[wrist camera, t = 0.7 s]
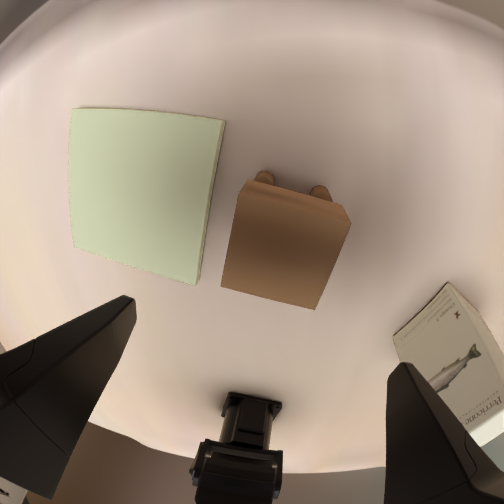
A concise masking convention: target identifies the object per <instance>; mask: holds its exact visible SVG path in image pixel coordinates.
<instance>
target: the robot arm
mask: <svg viewBox="0 0 504 504" xmlns="http://www.w3.org/2000/svg"><path fill="white" fill-rule="evenodd" d="M136 320H137V314H136V302H135V299H133V298H131V297H128V296H126V295H122V296H120V297H118V298H116V299H114V300H111V301H109V302H107V303H105V304H103V305H101V306H99V307H97V308H95V309H93V310H91V311H89V312H87V313H85V314H83V315H81V316H79V317H77V318H75V319H73V320H71V321H69V322H67V323H65V324H63V325H61V326H59V327H57V328H55V329H53V330H51V331H49V332H47V333H45V334H43V335H41V336H39V337H37V338H36V339H33V340H31V341H29V342H27V343H25V344H23V345H20V346H18V347H16V348H14V349H12V350H9V351H7V352H5V353H2V354H0V504H29V502H28V500H27V498H26V493H27V491H31V492H33V493H35V494H38V495H40V496H43V497H45V498H48V499H50V500H51V499H52V498H53V496H54V494H55V491H56V489H57V486H58V484H59V482H60V479H61V477H62V474H63V472H64V470H65V468H66V466H67V463H68V461H69V459H70V456H71V454H72V452H73V450H74V448H75V446H76V444H77V441H78V439H79V437H80V435H81V433H82V431H83V429H84V427H85V425H86V423H87V421H88V419H89V417H90V415H91V413H92V411H93V409H94V407H95V405H96V403H97V402H98V400H99V398H100V396H101V394H102V392H103V390H104V388H105V386H106V385H107V383H108V381H109V379H110V377H111V375H112V374H113V372H114V370H115V368H116V366H117V365H118V363H119V361H120V358H121V356H122V354H123V351H124V349H125V347H126V344H127V342H128V340H129V337H130V335H131V333H132V330H133V328H134V326H135V323H136ZM281 409H282V403H279V402H273V401H268V400H263V399H258V398H253V397H249V396H244V395H240V394H236V393H228V395H227V398H226V401H225V405H224V408H223V411H222V414H221V416H222V417H224V418H225V419H224V423H223V427H222V431H221V435H220V439H219V442H217V441H212V440H210V439H205V442H200V445H199V449H198V452H197V455H196V457H195V459H194V461H193V464H192V466H191V468H190V470H189V473H190V474H191V476H192V480H193V486H195V487H197V491H196V495H195V501H196V504H272V500H273V499H277V498H278V496H279V493H280V489H281V484H282V465H283V451H282V450H278V451H275V450H269V444H270V436H271V428H272V421H273V420H274V419H275V417H276V416H277V414H278V413H279V412H280V410H281ZM210 456H211V457H210ZM384 504H504V472H502V471H501V470H500V469H499V468H498V467H497V466H496V465H495V464H494V462H493V461H492V460H491V459H490V458H489V457H488V456H487V455H486V453H485V452H484V451H483V450H482V449H481V448H480V446H479V445H478V444H477V443H476V442H475V440H474V439H473V438H472V437H471V435H470V434H469V433H468V431H467V430H465V427H464V426H463V425H462V424H461V422H460V421H459V420H458V418H457V417H456V416H455V415H454V413H453V412H452V411H451V410H450V408H449V407H448V406H447V405H446V403H445V402H444V401H443V400H442V398H441V397H440V396H439V395H438V394H437V392H436V391H435V390H434V389H433V387H432V386H431V385H430V384H429V383H428V381H427V380H426V379H425V378H424V377H423V376H422V374H421V373H420V372H419V371H418V370H417V368H416V367H415V366H414V365H413V364H412V363H410V362H401V363H400V364H399V365H398V366H397V367H396V368H395V369H394V371H393V372H392V373H391V374H390V375H389V377H388V381H387V404H386V478H385V494H384Z"/></svg>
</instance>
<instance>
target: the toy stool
mask: <svg viewBox="0 0 504 504" xmlns="http://www.w3.org/2000/svg"><path fill="white" fill-rule="evenodd" d="M273 185H274V176H273V174H272V173H270V172H269V171H261V172H259V173H258V174H257V176H256V177H255V179H254V181H252V180H247V182H246V183H245V185H244V186H243V188H242V189H241V191H240V192H239V196H238V200H237V205H236V210H235V215H234V220H233V225H232V230H231V235H230V240H229V245H228V250H227V255H226V260H225V265H224V271H223V276H222V281H221V287H225V288H228V289H232V290H236V291H240V292H244V293H247V294H251V295H255V296H259V297H263V298H267V299H271V300H275V301H279V302H283V303H287V304H291V305H296V306H300V307H304V308H308V309H313V310H315V308H316V306H317V304H318V302H319V300H320V297H321V295H322V293H323V291H324V289H325V286H326V284H327V282H328V279H329V277H330V275H331V272H332V270H333V268H334V265H335V263H336V261H337V258H338V256H339V253H340V251H341V248H342V246H343V243H344V241H345V238H346V236H347V233H348V231H349V228H350V225H351V222H350V220H349V218H348V216H347V214H346V212H345V210H344V208H343V206H342V205H340V204H337V203H333V201H332V199H331V196H330V194H329V192H328V190H327V189H326V188H325V187H324V186H316V187H314V188H313V189H312V190H311V193H310V196H309V195H306V194H302V193H299V192H295V191H291V190H288V189H284V188H280V187H276V186H273Z"/></svg>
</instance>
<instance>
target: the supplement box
mask: <svg viewBox="0 0 504 504" xmlns="http://www.w3.org/2000/svg"><path fill="white" fill-rule="evenodd" d="M393 340H394V344H395V347H396V350H397V354H398V357H399V361H400V363H401V362H410V363H412V364H413V365H414V366H415V367H416V368H417V370H418V371H419V372H420V373H421V374H422V376H423V377H424V378H425V379H426V380H427V381H428V383H429V384H430V385H431V386H432V387H433V389H434V390H435V391H436V392H437V394H438V395H439V396H440V397H441V398H442V400H443V401H444V402H445V403H446V405H447V406H448V407H449V408H450V410H451V411H452V412H453V413H454V415H455V416H456V417H457V418H458V420H459V421H460V422H461V424H462V425H463V426H464V427H465V430H467V431H468V433H469V434H470V435H471V437H472V438H473V439H474V440H475V442H476V443H477V444H478V445H479V446H480V447H481V446H482V445H484V444H486V443H487V442H489V441H490V440H492V439H494V438H495V437H497V436H498V435H499V434H501V433H502V432H504V355H503V353H502V351H501V349H500V347H499V345H498V344H497V342H496V340H495V338H494V336H493V335H492V333H491V331H490V330H489V328H488V326H487V324H486V323H485V321H484V320H483V318H482V316H481V315H480V313H479V312H478V311H477V310H476V309H475V308H474V307H473V306H472V305H471V304H470V303H469V302H468V301H467V300H466V299H465V298H464V297H463V296H462V295H461V294H460V293H459V292H458V291H457V290H456V289H455V288H454V287H453V286H452V285H451V284H449V283H447V284H446V285H445V287H444V288H443V289H442V290H441V291H440V293H439V294H438V295H437V296H436V297H435V298H434V299H433V300H432V301H431V302H430V303H429V304H428V305H427V306H426V307H425V308H424V309H423V310H422V311H421V312H420V313H419V314H418V315H417V316H416V317H415V318H414V319H413V320H411V321H410V322H409V323H408V324H407V325H406V326H405V327H404V328H403V329H401V330H400V331H399V332H398V333H397V334H395V335H394V336H393Z"/></svg>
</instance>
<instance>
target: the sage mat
mask: <svg viewBox="0 0 504 504" xmlns="http://www.w3.org/2000/svg"><path fill="white" fill-rule="evenodd" d="M225 122H226V121H224V120H219V119H213V118H207V117H200V116H193V115H186V114H178V113H169V112H159V111H148V110H135V109H116V108H76V109H72V111H71V121H70V136H69V202H70V217H71V228H72V237H73V246H74V247H75V248H78V249H81V250H84V251H86V252H89V253H92V254H95V255H98V256H101V257H104V258H107V259H110V260H113V261H116V262H119V263H122V264H125V265H128V266H131V267H134V268H137V269H141V270H144V271H147V272H150V273H153V274H157V275H160V276H163V277H167V278H170V279H173V280H177V281H180V282H183V283H187V284H190V285H194V286H196V284H197V282H198V280H199V277H200V270H201V262H202V255H203V248H204V241H205V234H206V228H207V221H208V215H209V209H210V203H211V197H212V191H213V185H214V179H215V174H216V168H217V163H218V157H219V152H220V147H221V142H222V137H223V132H224V127H225Z"/></svg>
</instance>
